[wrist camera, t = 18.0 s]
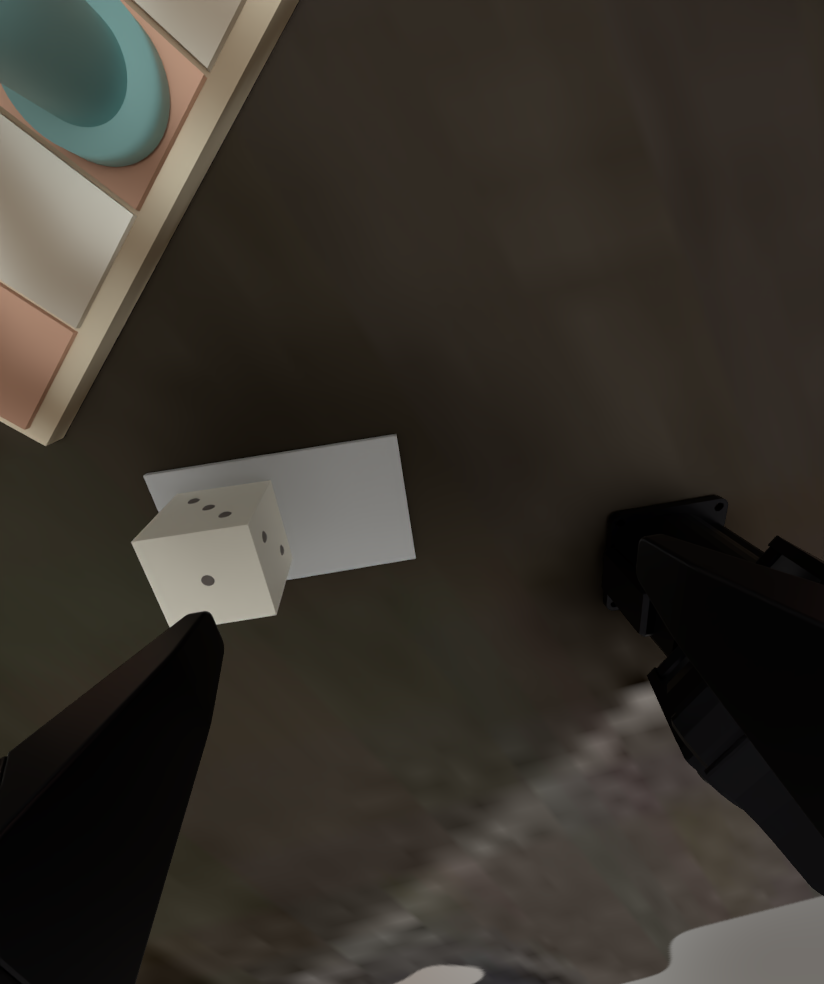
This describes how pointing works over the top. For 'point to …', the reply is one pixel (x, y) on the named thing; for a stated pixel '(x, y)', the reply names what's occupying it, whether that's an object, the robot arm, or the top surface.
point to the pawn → (85, 77)
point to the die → (217, 553)
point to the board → (111, 208)
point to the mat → (319, 501)
